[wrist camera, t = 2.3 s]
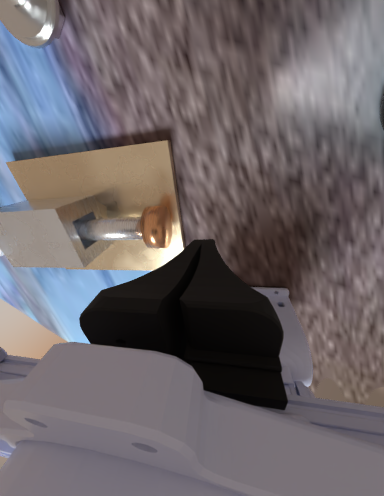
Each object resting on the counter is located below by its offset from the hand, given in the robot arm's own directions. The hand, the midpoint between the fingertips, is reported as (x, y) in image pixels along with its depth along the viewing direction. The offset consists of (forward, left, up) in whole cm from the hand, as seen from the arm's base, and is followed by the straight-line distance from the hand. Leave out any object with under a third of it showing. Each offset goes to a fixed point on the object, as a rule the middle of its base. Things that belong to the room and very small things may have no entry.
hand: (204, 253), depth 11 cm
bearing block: (+12, 0, -8) cm, 15 cm away
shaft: (+10, 0, -7) cm, 12 cm away
